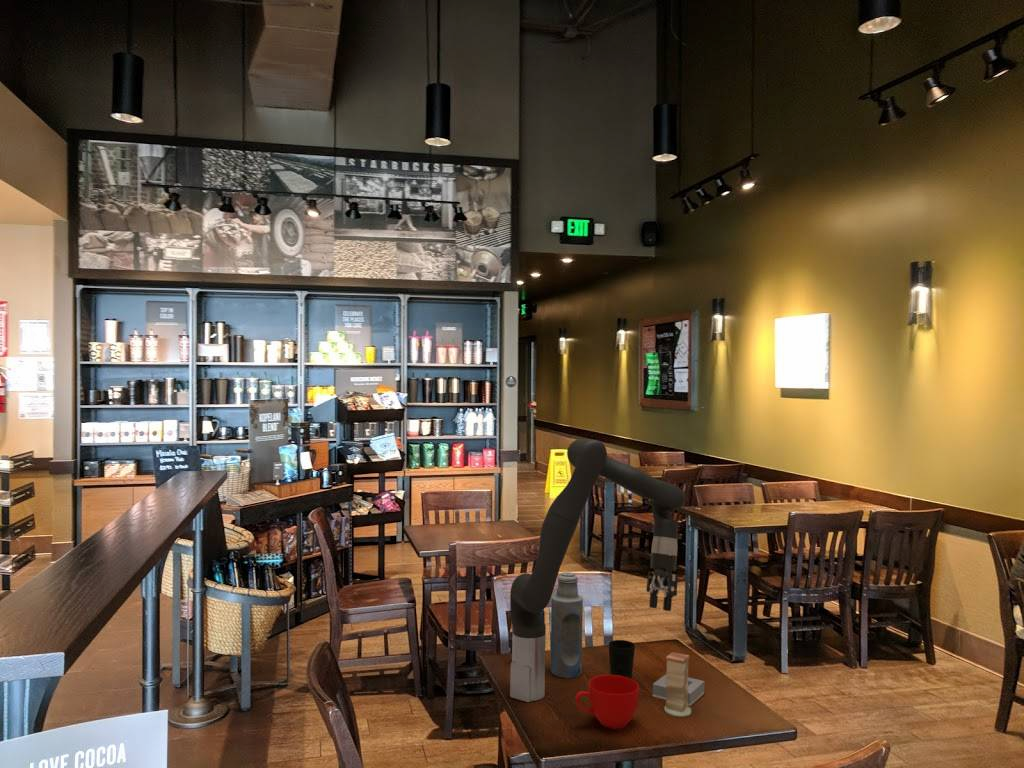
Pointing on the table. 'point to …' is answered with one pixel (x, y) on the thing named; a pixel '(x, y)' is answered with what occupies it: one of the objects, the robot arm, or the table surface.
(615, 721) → the ceramic cup
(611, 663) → the cup
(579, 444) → the robot arm
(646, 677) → the table surface
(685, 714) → the pad
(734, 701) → the table surface
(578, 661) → the bottle
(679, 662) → the plug
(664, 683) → the socket block
